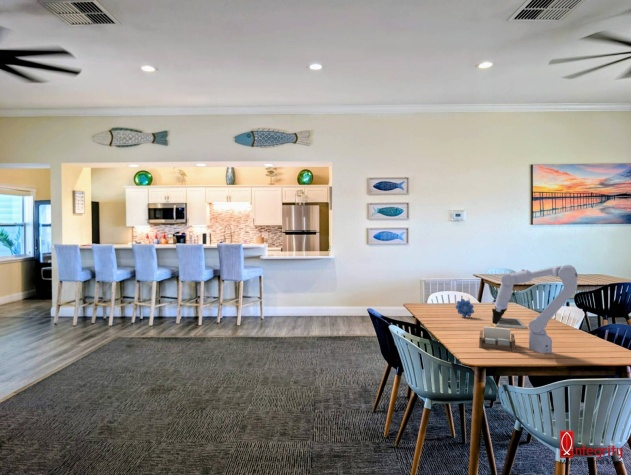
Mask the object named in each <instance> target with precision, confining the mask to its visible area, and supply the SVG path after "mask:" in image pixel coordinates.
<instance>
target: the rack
mask: <svg viewBox="0 0 631 475" xmlns="http://www.w3.org/2000/svg"><path fill="white" fill-rule="evenodd" d="M478 339H479V341H478V342H479V343H478V348H479V349H485V350H486V349H487V350H497V351H503V352H504V351H507V352H514V353H515V352H516V338H515V334H514V333H510V346H504V345H498V341H496V340H495V344H485V339H484V330H480V331H479V338H478Z"/></svg>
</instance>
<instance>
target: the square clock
mask: <svg viewBox="0 0 631 475" xmlns="http://www.w3.org/2000/svg"><path fill="white" fill-rule="evenodd" d="M491 320H492V321H493V315H492V316H491ZM494 325H495V327H496V328H506V329H523V330H526V329H527V326H526V325H525V324H524V323H523V321H522V320H520V318H512V317H511V318H510V317H503V316H502V317H501V319H500V320H499V322H498V323H497V324H494Z"/></svg>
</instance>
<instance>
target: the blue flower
mask: <svg viewBox="0 0 631 475" xmlns="http://www.w3.org/2000/svg"><path fill="white" fill-rule="evenodd" d="M474 306H475V305H473V304H472V303H471V301H470V300H465V299H463V298H462V299H460V300H457V301H456V305H455V309H456V310H457V314H459V315H461V316H462V318H466V317H469V318H470V317H471V316H472V314H474V313H475V311H474V310H475V309H474Z"/></svg>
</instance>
